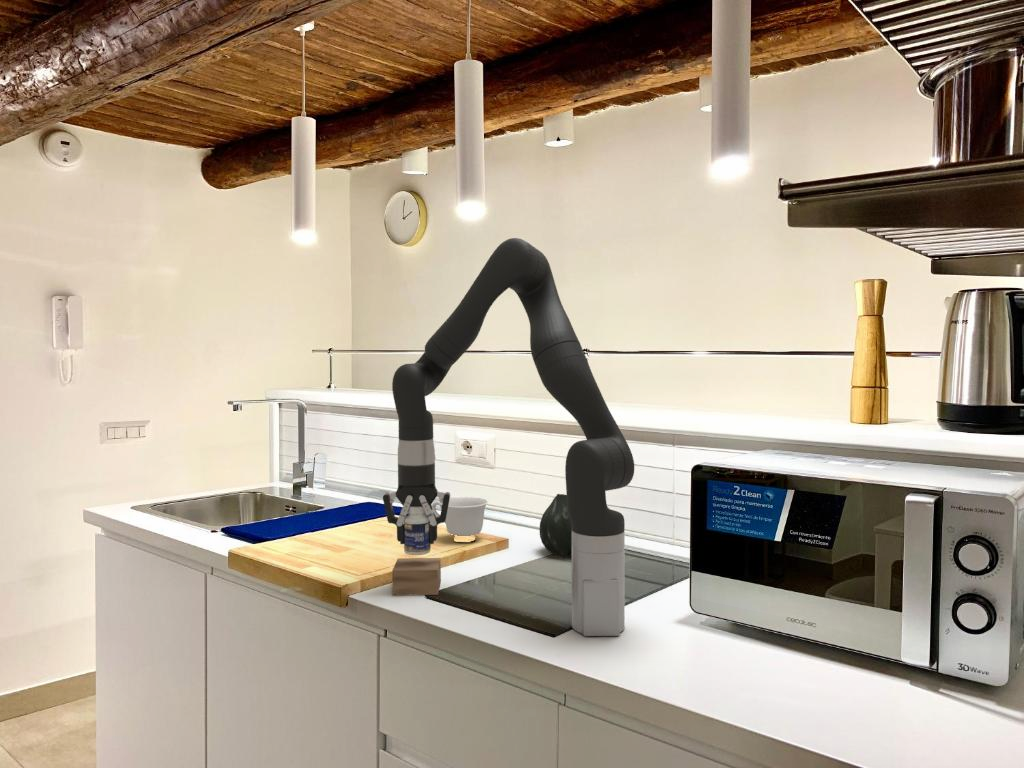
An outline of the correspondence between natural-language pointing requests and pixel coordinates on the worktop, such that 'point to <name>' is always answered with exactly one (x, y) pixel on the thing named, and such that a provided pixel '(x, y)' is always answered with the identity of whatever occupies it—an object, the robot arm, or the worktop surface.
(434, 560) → the plinth
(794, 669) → the worktop surface
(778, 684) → the worktop surface
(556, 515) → the squash
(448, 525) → the teacup
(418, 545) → the pill bottle
